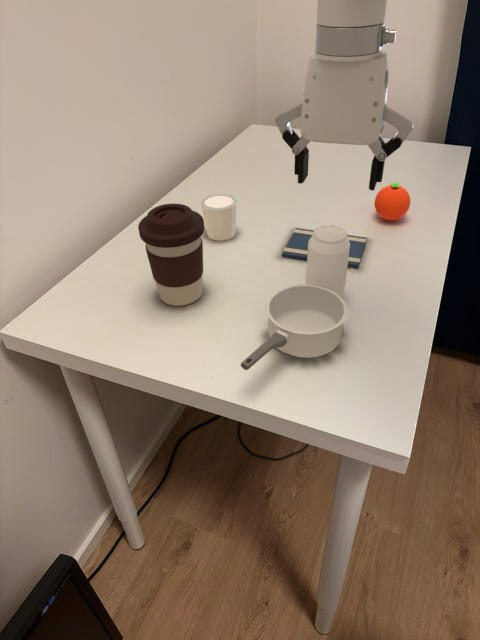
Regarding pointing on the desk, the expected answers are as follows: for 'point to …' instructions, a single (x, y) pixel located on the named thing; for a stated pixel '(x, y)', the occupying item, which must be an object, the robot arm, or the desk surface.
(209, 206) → the white candle
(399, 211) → the clementine
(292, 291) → the saucepan
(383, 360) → the desk surface
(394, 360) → the desk surface
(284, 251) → the towel
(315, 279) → the beverage can
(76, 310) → the desk surface
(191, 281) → the coffee cup
